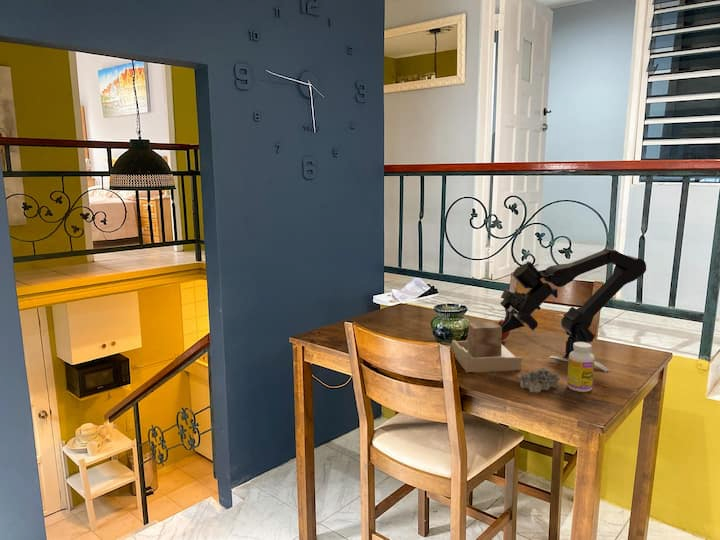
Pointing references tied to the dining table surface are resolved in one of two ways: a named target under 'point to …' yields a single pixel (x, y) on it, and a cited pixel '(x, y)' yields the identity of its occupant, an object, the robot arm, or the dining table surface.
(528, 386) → the egg carton
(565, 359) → the fork
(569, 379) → the supplement bottle
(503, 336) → the onion
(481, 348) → the walnut block
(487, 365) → the tray
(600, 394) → the dining table surface
